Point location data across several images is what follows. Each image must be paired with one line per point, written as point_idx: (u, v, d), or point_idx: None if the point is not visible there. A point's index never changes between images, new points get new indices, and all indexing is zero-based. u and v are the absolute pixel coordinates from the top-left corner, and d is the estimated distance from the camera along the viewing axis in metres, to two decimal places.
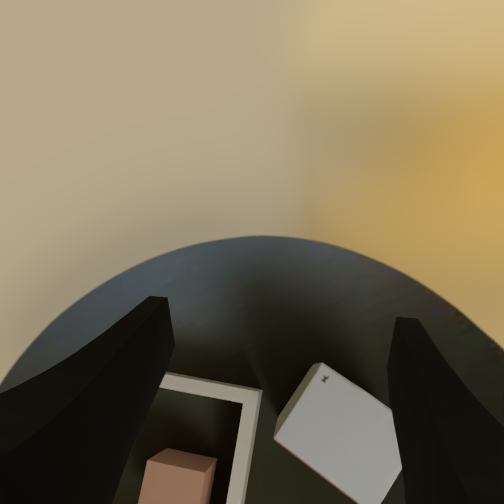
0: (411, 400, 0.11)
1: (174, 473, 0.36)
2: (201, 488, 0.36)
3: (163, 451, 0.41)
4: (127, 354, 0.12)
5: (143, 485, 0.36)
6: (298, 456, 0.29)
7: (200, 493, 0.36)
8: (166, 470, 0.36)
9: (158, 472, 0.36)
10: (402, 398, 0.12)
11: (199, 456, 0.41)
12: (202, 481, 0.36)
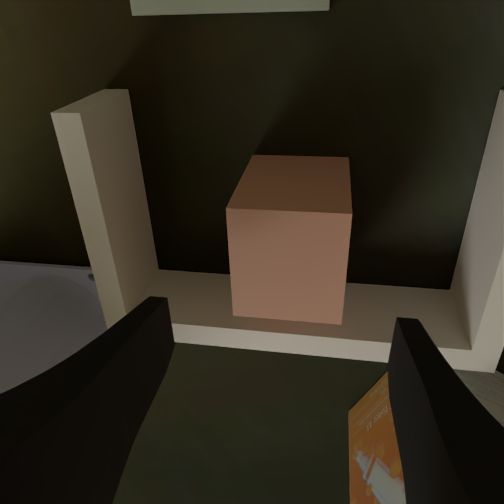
0: (411, 400, 0.11)
1: (331, 272, 0.17)
2: (311, 320, 0.18)
3: None
4: (127, 354, 0.12)
5: (296, 214, 0.16)
6: None
7: (302, 319, 0.18)
8: (335, 256, 0.16)
9: (329, 241, 0.16)
10: (402, 398, 0.12)
11: None
12: (324, 321, 0.18)
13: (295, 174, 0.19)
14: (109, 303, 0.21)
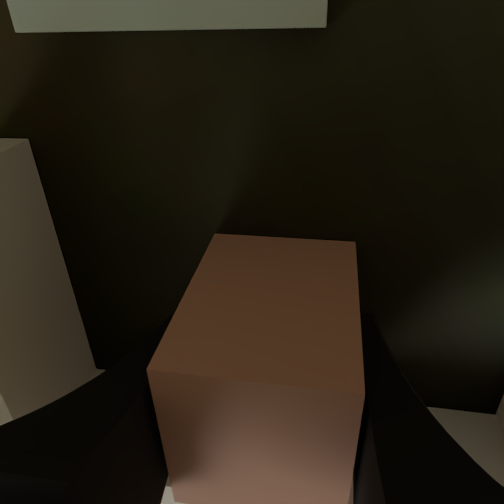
0: None
1: (328, 466, 0.10)
2: None
3: None
4: None
5: (267, 387, 0.09)
6: None
7: None
8: (334, 448, 0.09)
9: (323, 427, 0.09)
10: None
11: None
12: None
13: (273, 280, 0.12)
14: None
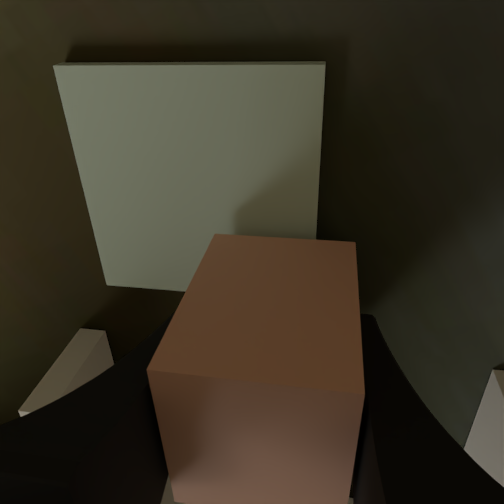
0: None
1: (328, 466, 0.10)
2: None
3: None
4: None
5: (267, 387, 0.09)
6: None
7: None
8: (334, 448, 0.10)
9: (323, 427, 0.09)
10: None
11: None
12: None
13: (273, 280, 0.12)
14: None
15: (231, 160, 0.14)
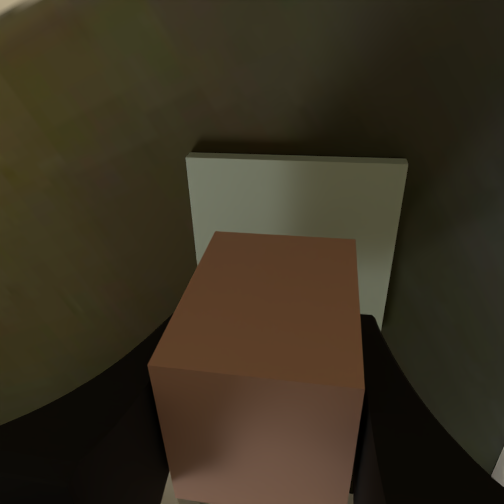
0: None
1: (328, 462, 0.10)
2: None
3: None
4: None
5: (267, 382, 0.09)
6: None
7: None
8: (334, 443, 0.10)
9: (323, 422, 0.09)
10: None
11: None
12: None
13: (273, 277, 0.12)
14: None
15: (324, 230, 0.17)
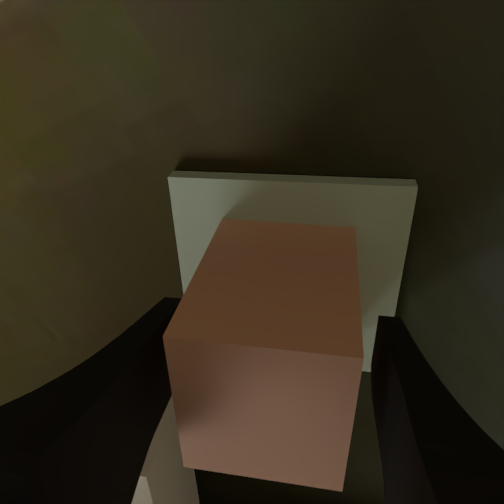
0: (390, 398, 0.11)
1: (328, 429, 0.11)
2: (297, 481, 0.12)
3: None
4: (145, 356, 0.11)
5: (274, 353, 0.10)
6: None
7: (284, 480, 0.12)
8: (335, 411, 0.10)
9: (325, 391, 0.10)
10: (382, 396, 0.12)
11: None
12: (317, 486, 0.12)
13: (278, 260, 0.13)
14: None
15: None
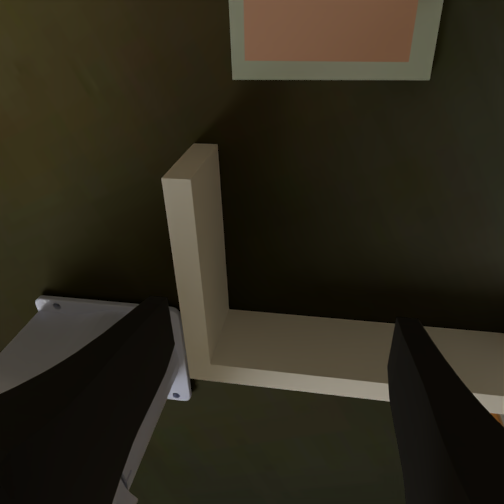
0: (411, 400, 0.11)
1: None
2: (362, 58, 0.12)
3: None
4: (127, 354, 0.12)
5: None
6: None
7: (348, 58, 0.12)
8: None
9: None
10: (402, 398, 0.12)
11: None
12: (382, 58, 0.12)
13: None
14: (194, 349, 0.22)
15: None
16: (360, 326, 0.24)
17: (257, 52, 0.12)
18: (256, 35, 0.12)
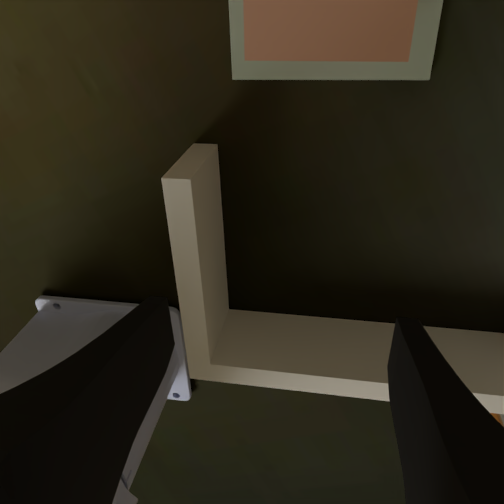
0: (411, 400, 0.11)
1: None
2: (362, 58, 0.12)
3: None
4: (127, 354, 0.12)
5: None
6: None
7: (348, 58, 0.12)
8: None
9: None
10: (402, 398, 0.12)
11: None
12: (382, 58, 0.12)
13: None
14: (194, 349, 0.22)
15: None
16: (360, 326, 0.24)
17: (257, 52, 0.12)
18: (256, 35, 0.12)
